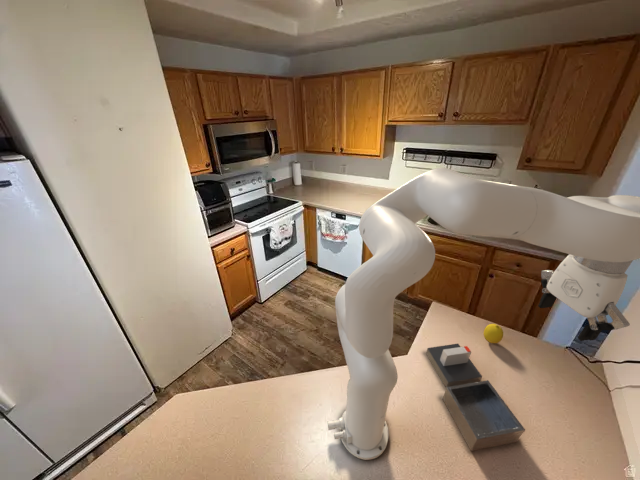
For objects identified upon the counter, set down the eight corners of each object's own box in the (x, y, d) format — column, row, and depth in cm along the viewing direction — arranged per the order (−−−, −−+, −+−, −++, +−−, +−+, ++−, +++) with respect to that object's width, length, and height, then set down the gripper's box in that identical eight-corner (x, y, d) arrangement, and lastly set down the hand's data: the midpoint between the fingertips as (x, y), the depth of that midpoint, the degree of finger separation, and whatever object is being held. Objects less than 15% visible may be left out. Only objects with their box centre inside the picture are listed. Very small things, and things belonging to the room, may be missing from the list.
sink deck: (446, 388, 77) (448, 382, 75) (425, 353, 87) (427, 347, 86) (479, 382, 78) (482, 376, 77) (456, 349, 88) (458, 343, 87)
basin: (470, 450, 63) (477, 439, 60) (442, 399, 74) (446, 387, 71) (517, 441, 65) (525, 429, 62) (482, 392, 76) (488, 380, 73)
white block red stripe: (443, 366, 80) (447, 355, 77) (439, 360, 82) (443, 349, 79) (467, 362, 81) (471, 351, 78) (463, 356, 83) (467, 345, 80)
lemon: (484, 332, 94) (491, 316, 90) (501, 342, 91) (509, 326, 87) (478, 340, 91) (484, 324, 87) (495, 351, 87) (502, 334, 84)
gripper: (544, 239, 58) (518, 298, 66) (636, 289, 43) (587, 357, 51) (574, 236, 58) (544, 294, 67) (675, 284, 43) (621, 352, 52)
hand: (563, 321), depth 59 cm, fingers open, 9 cm apart
